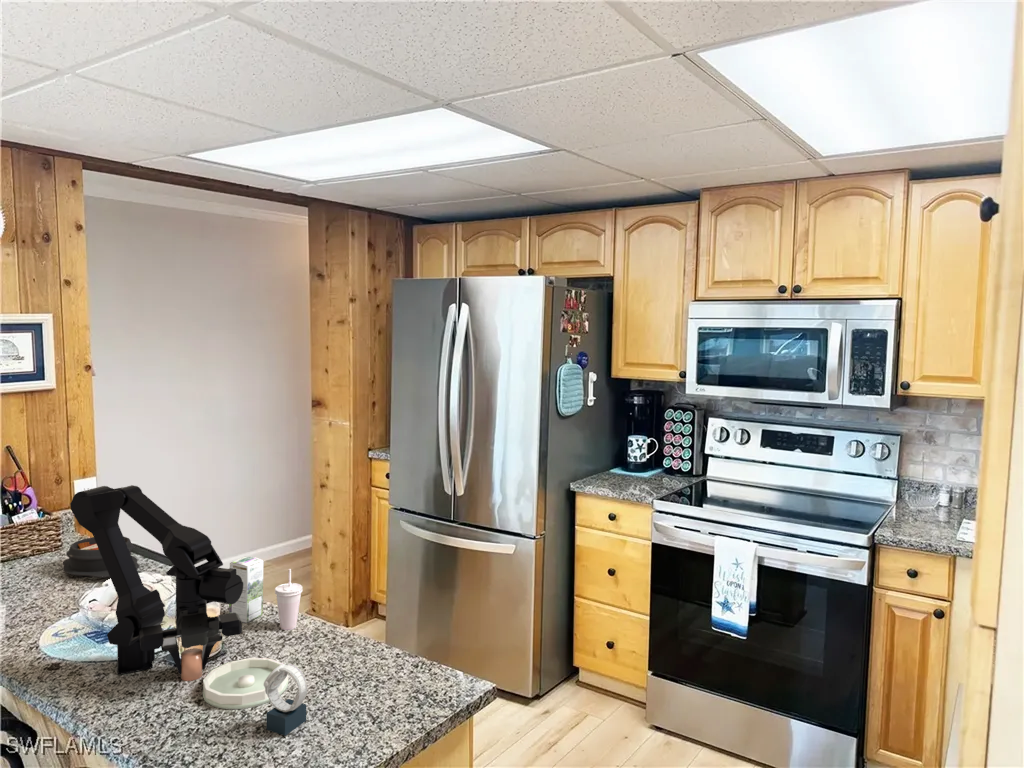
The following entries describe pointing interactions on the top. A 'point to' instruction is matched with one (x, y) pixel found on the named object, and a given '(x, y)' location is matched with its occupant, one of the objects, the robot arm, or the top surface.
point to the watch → (288, 711)
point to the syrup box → (249, 588)
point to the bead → (191, 664)
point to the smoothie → (288, 603)
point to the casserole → (89, 559)
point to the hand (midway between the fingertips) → (191, 671)
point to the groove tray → (240, 683)
